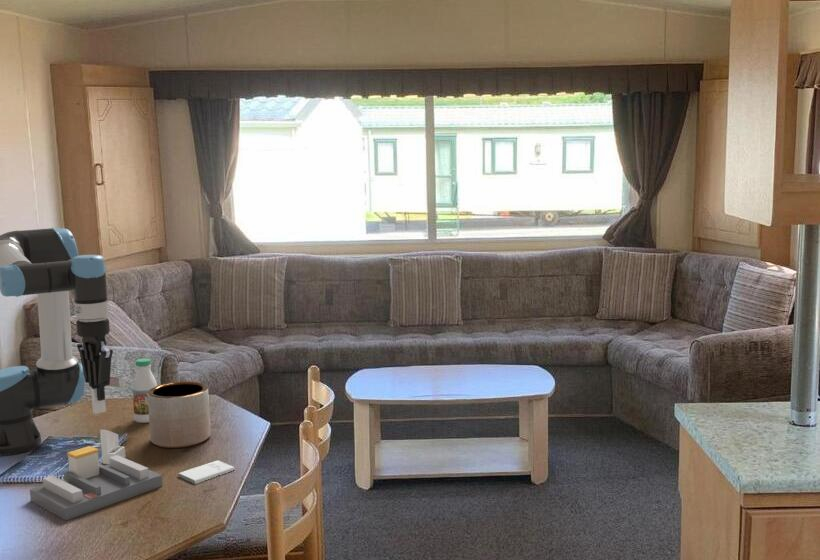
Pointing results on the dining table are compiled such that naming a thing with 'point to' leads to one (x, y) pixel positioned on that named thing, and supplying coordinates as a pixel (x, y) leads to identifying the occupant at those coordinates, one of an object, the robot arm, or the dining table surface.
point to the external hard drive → (206, 472)
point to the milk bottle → (142, 390)
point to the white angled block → (110, 446)
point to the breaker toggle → (84, 462)
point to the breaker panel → (94, 488)
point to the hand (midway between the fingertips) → (99, 412)
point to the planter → (179, 414)
